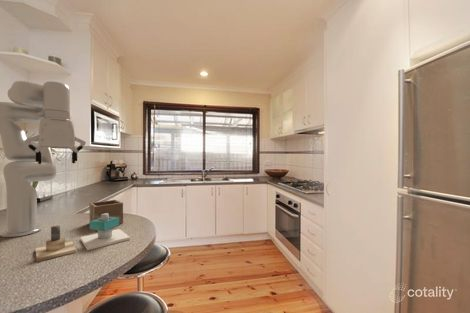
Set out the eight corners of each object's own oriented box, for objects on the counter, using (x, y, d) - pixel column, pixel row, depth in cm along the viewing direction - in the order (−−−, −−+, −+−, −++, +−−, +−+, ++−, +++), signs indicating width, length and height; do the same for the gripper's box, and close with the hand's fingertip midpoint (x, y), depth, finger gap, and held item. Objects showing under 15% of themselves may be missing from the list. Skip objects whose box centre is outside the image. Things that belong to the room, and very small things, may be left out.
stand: (35, 250, 76) (35, 226, 76) (71, 242, 83) (71, 220, 83) (36, 262, 67) (36, 234, 67) (76, 252, 74) (75, 227, 74)
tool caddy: (89, 223, 108) (89, 203, 108) (116, 218, 116) (116, 199, 116) (94, 228, 99) (94, 206, 99) (123, 222, 107) (122, 202, 107)
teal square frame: (89, 229, 83) (89, 221, 83) (105, 223, 90) (105, 216, 90) (104, 230, 81) (104, 222, 81) (119, 224, 88) (119, 217, 88)
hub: (80, 239, 86) (80, 214, 86) (119, 231, 95) (119, 208, 95) (87, 250, 75) (86, 221, 75) (129, 239, 85) (129, 213, 85)
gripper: (23, 112, 71) (24, 164, 71) (87, 118, 83) (87, 163, 83) (24, 115, 76) (24, 164, 76) (83, 120, 88) (84, 162, 88)
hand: (57, 163), depth 80 cm, fingers open, 9 cm apart
